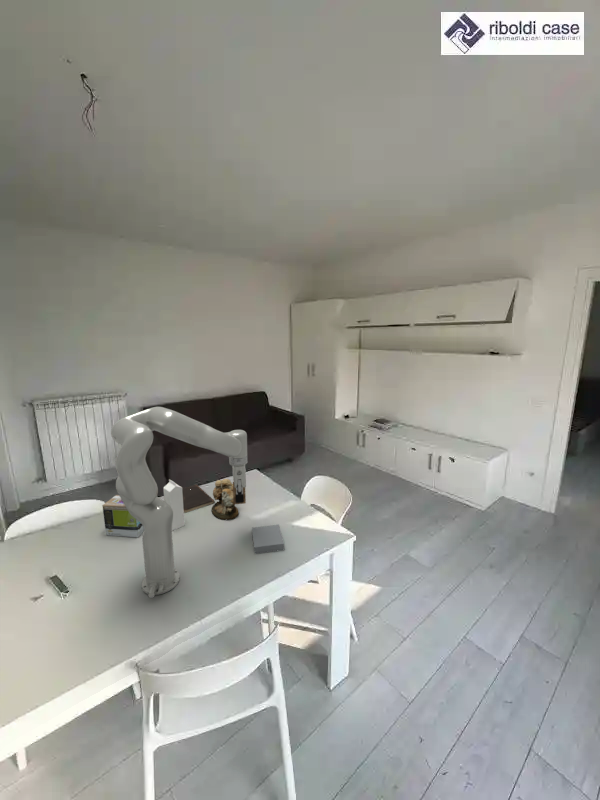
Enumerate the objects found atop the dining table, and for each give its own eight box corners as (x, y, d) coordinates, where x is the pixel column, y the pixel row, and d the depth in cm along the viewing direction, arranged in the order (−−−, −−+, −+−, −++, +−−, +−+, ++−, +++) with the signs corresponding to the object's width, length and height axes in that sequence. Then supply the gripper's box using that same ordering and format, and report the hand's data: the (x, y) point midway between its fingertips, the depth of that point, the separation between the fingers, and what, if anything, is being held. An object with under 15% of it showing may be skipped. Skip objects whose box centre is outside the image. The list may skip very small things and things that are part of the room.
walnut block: (245, 503, 143) (245, 486, 142) (233, 504, 142) (233, 487, 141) (244, 497, 148) (244, 480, 146) (233, 498, 147) (232, 481, 145)
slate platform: (283, 550, 139) (283, 543, 138) (254, 553, 136) (254, 547, 136) (278, 530, 152) (278, 524, 152) (251, 533, 150) (251, 527, 149)
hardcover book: (184, 514, 165) (184, 510, 165) (168, 496, 183) (168, 492, 182) (215, 504, 175) (214, 500, 175) (197, 487, 193) (197, 484, 192)
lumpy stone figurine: (204, 508, 170) (203, 477, 167) (225, 501, 178) (224, 470, 174) (223, 523, 157) (222, 489, 154) (244, 515, 165) (244, 482, 161)
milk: (172, 530, 151) (168, 485, 146) (166, 525, 155) (162, 481, 150) (184, 525, 155) (181, 481, 151) (178, 520, 159) (175, 476, 155)
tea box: (150, 525, 155) (147, 495, 152) (137, 538, 145) (134, 507, 142) (119, 522, 156) (116, 493, 153) (105, 535, 147) (101, 504, 144)
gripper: (249, 466, 134) (249, 508, 138) (245, 451, 150) (246, 489, 154) (229, 468, 132) (231, 510, 136) (228, 452, 148) (229, 490, 152)
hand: (239, 498), depth 145 cm, fingers closed on walnut block, 5 cm apart
